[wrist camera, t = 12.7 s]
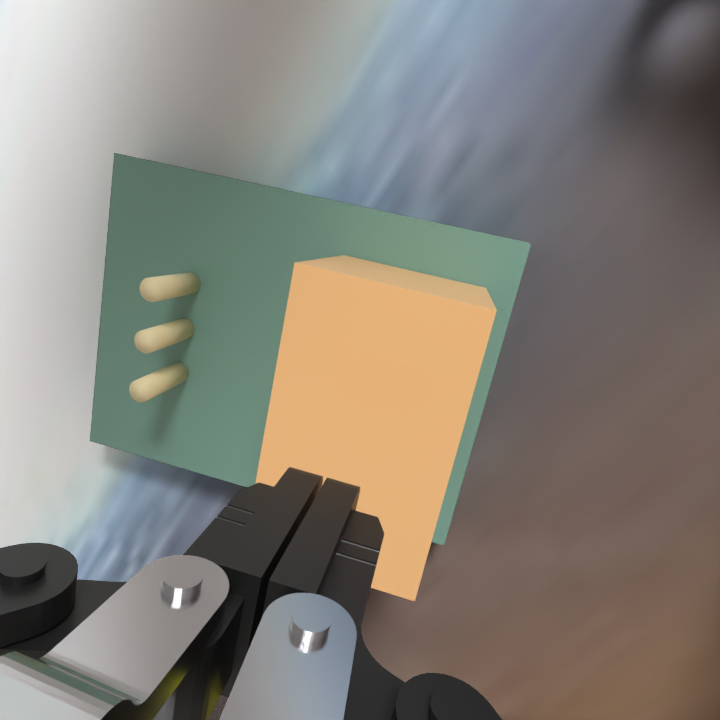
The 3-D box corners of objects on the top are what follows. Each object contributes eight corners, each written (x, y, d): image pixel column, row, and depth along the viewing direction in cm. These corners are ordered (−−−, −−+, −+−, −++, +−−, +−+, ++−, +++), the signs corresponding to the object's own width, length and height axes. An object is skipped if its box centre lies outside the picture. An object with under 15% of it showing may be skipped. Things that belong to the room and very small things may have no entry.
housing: (486, 287, 20) (496, 309, 14) (427, 500, 22) (414, 601, 16) (344, 255, 21) (294, 262, 15) (302, 464, 23) (243, 547, 17)
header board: (525, 242, 21) (543, 244, 17) (445, 521, 25) (441, 589, 20) (142, 159, 24) (61, 140, 19) (116, 426, 27) (41, 467, 22)
